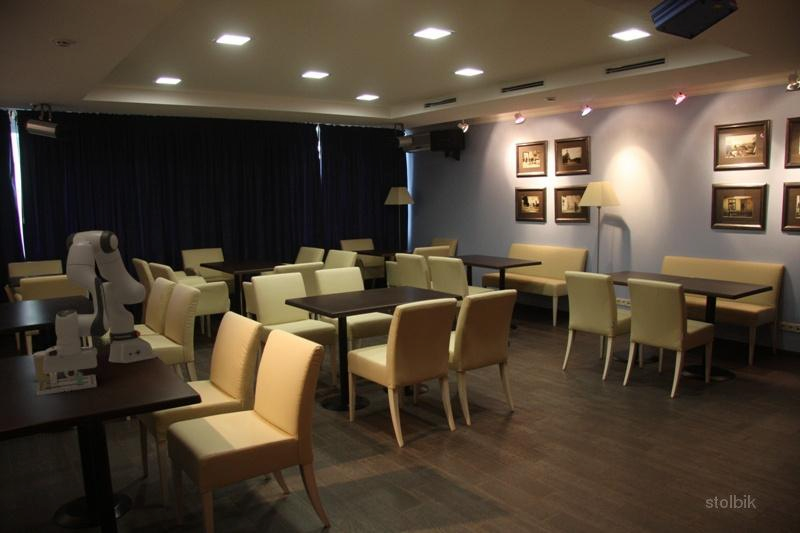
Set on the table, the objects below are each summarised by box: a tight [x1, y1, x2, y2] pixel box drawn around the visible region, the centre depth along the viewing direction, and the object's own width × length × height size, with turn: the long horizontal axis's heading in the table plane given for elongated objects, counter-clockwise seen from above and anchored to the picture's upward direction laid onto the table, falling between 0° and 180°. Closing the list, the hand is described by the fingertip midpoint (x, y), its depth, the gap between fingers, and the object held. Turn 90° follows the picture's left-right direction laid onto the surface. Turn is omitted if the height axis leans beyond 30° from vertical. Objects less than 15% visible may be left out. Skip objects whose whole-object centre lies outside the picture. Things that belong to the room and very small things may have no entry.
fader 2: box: [76, 371, 84, 385], centre depth 256 cm, size 2×4×4 cm, turn 29°
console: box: [36, 373, 98, 396], centre depth 257 cm, size 22×15×2 cm
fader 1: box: [50, 373, 58, 384], centre depth 258 cm, size 2×4×4 cm, turn 29°
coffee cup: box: [32, 350, 50, 382], centre depth 269 cm, size 9×9×12 cm
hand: (71, 380), depth 254 cm, fingers closed
